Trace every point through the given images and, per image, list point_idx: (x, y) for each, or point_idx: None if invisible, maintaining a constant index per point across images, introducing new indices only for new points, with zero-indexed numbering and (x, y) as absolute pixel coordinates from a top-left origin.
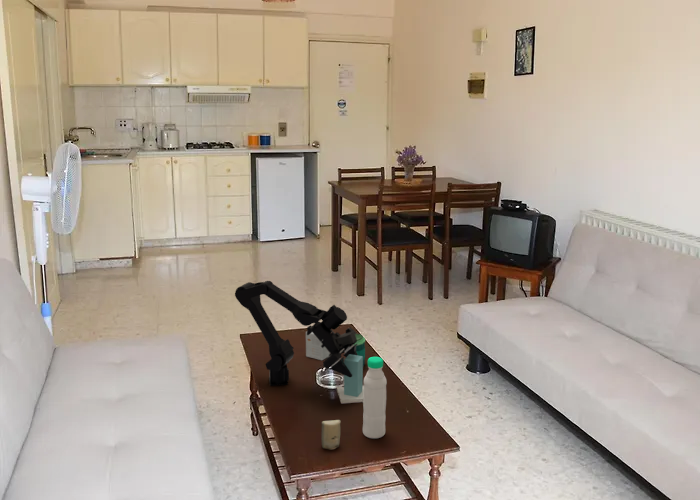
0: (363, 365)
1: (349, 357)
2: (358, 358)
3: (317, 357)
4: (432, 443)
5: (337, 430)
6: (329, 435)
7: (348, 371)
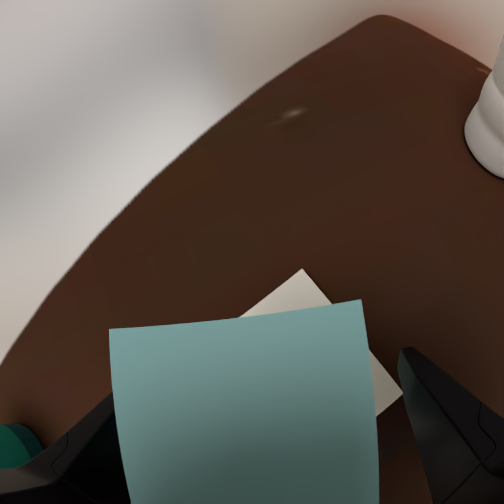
0: (24, 426)
1: None
2: (216, 363)
3: None
4: (407, 33)
5: None
6: None
7: (450, 378)
